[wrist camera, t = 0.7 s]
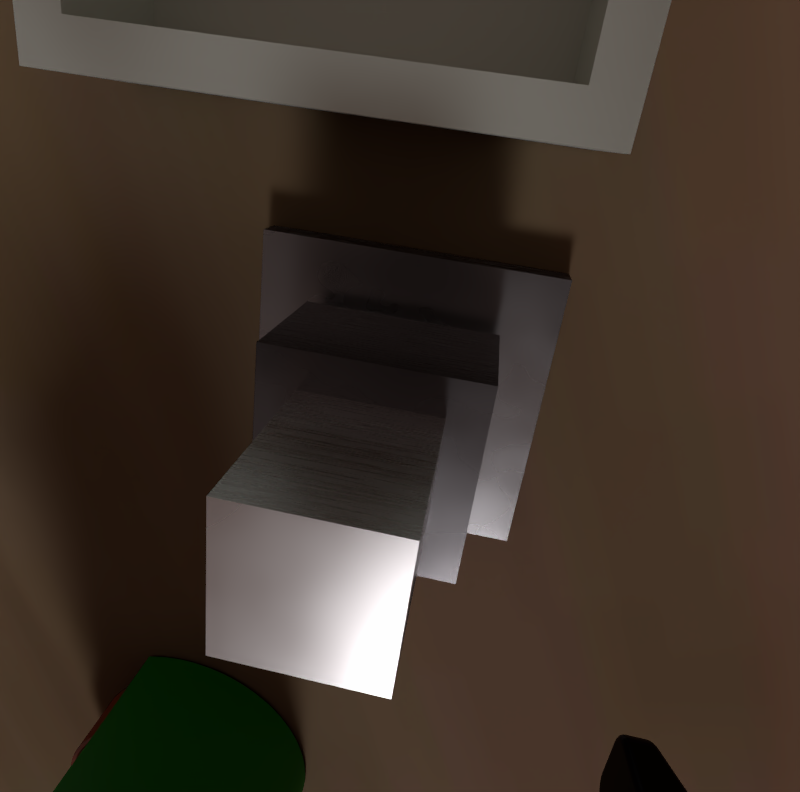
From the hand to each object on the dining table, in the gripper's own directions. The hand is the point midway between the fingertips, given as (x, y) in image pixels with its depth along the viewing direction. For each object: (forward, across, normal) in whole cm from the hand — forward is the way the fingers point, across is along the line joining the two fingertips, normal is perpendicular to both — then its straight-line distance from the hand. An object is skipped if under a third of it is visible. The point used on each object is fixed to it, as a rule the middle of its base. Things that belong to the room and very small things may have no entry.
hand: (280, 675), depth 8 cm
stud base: (+10, 0, 0) cm, 11 cm away
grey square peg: (+9, 0, 0) cm, 9 cm away
